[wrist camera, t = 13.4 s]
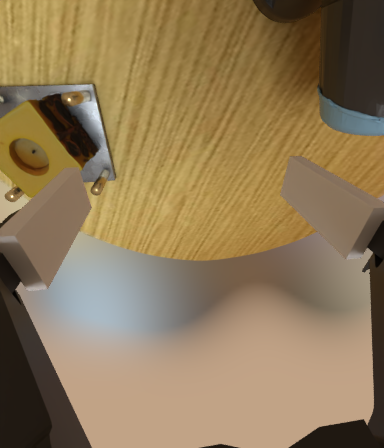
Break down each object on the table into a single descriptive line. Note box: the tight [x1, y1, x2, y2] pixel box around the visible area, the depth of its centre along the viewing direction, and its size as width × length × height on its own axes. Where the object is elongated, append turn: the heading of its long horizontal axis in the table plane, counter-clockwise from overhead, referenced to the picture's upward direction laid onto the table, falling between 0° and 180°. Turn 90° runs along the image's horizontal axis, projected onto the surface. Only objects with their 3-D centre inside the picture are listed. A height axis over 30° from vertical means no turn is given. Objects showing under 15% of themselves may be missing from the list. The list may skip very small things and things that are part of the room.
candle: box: [0, 94, 98, 198], centre depth 33 cm, size 10×10×10 cm
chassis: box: [0, 84, 116, 202], centre depth 34 cm, size 16×16×10 cm
